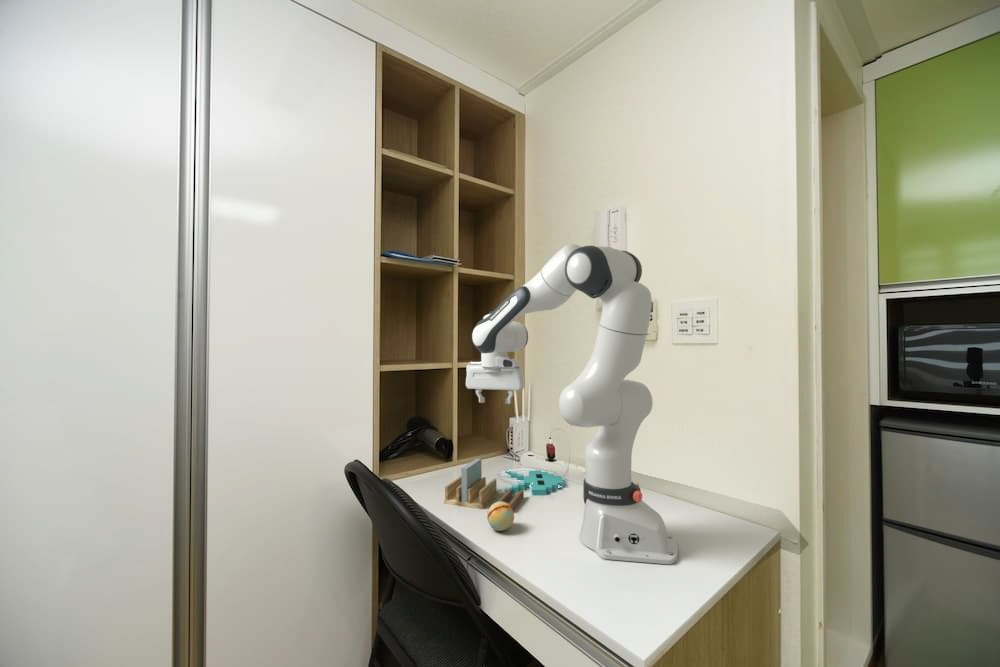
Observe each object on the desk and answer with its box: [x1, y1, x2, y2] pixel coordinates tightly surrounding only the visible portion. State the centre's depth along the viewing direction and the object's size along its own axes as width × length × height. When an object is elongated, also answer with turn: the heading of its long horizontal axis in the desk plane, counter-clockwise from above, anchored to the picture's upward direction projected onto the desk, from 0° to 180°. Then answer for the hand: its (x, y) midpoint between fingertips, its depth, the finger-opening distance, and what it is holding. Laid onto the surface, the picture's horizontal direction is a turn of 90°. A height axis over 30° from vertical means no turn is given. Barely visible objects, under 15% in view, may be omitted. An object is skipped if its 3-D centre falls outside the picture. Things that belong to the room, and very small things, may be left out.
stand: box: [496, 488, 525, 512], centre depth 116 cm, size 5×12×2 cm, turn 159°
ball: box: [486, 501, 515, 532], centre depth 100 cm, size 7×7×7 cm
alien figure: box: [504, 469, 565, 496], centre depth 133 cm, size 20×2×20 cm
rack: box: [443, 475, 499, 510], centre depth 121 cm, size 13×12×5 cm
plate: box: [460, 457, 483, 502], centre depth 121 cm, size 2×11×10 cm, turn 159°
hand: (494, 403), depth 127 cm, fingers open, 8 cm apart
